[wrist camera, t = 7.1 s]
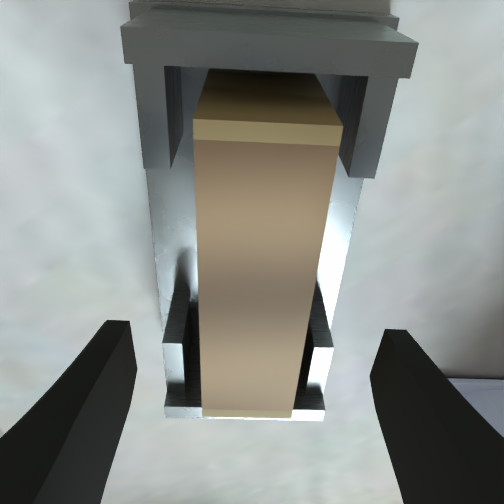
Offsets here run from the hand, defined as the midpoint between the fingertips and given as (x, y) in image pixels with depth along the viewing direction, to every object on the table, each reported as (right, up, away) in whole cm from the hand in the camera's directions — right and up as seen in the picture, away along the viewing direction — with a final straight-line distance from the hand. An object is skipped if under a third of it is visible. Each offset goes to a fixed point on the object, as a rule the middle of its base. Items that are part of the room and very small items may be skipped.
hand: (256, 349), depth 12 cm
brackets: (0, +4, +6) cm, 8 cm away
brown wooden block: (0, +4, +5) cm, 7 cm away
